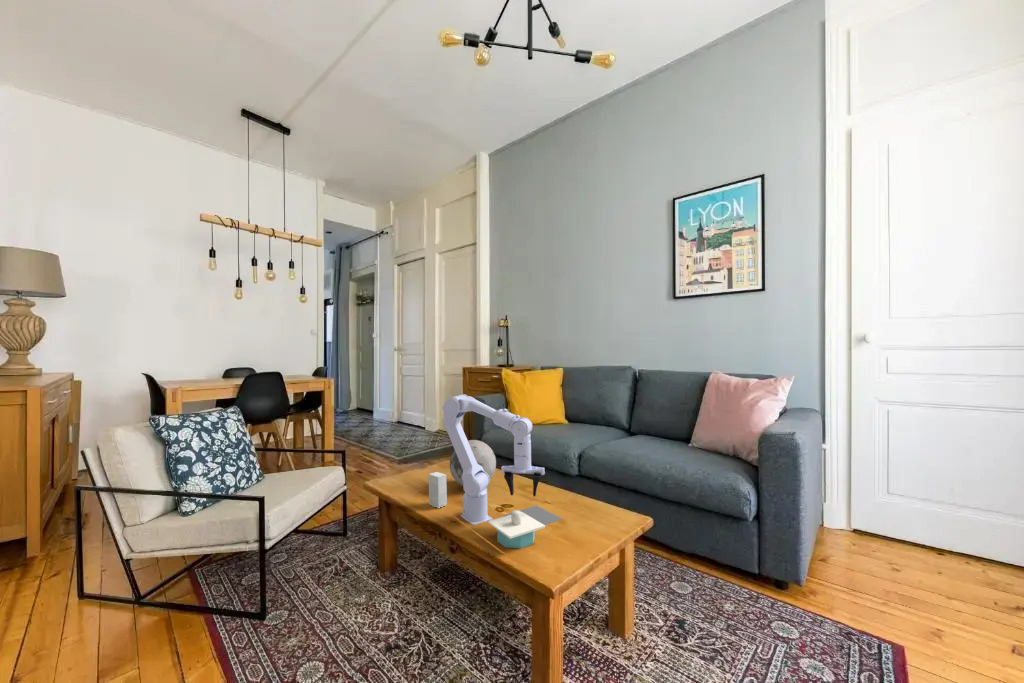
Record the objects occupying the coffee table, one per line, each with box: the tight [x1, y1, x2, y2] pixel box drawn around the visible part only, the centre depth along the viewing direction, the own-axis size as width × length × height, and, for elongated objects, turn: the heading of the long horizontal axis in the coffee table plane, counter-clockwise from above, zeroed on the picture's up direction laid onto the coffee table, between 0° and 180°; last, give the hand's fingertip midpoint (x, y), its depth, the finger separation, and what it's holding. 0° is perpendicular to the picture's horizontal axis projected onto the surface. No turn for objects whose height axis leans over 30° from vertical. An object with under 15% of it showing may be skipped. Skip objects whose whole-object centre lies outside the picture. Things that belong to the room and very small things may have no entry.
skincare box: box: [428, 471, 448, 509], centre depth 158 cm, size 6×4×12 cm
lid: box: [487, 509, 546, 539], centre depth 129 cm, size 13×13×4 cm
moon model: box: [449, 439, 497, 487], centre depth 178 cm, size 20×20×20 cm
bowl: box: [496, 529, 536, 549], centre depth 129 cm, size 11×11×4 cm
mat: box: [502, 505, 563, 526], centre depth 145 cm, size 15×15×1 cm
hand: (523, 494), depth 139 cm, fingers open, 7 cm apart
